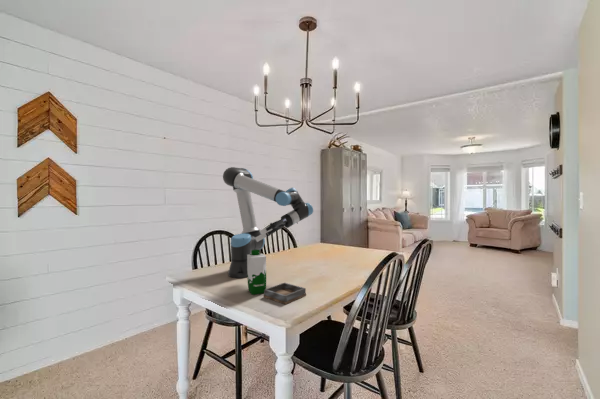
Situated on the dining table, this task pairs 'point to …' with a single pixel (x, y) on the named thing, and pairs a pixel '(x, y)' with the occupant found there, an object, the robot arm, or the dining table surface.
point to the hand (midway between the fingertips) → (258, 236)
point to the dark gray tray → (285, 293)
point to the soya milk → (256, 272)
